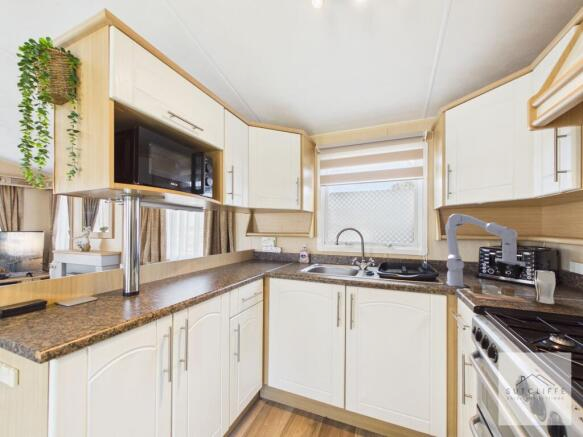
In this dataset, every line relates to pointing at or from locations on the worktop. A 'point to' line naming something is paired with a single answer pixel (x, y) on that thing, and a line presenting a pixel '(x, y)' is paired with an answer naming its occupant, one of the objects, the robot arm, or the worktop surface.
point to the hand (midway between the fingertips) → (509, 277)
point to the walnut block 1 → (476, 288)
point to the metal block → (491, 289)
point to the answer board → (496, 296)
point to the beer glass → (545, 286)
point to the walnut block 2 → (507, 291)
